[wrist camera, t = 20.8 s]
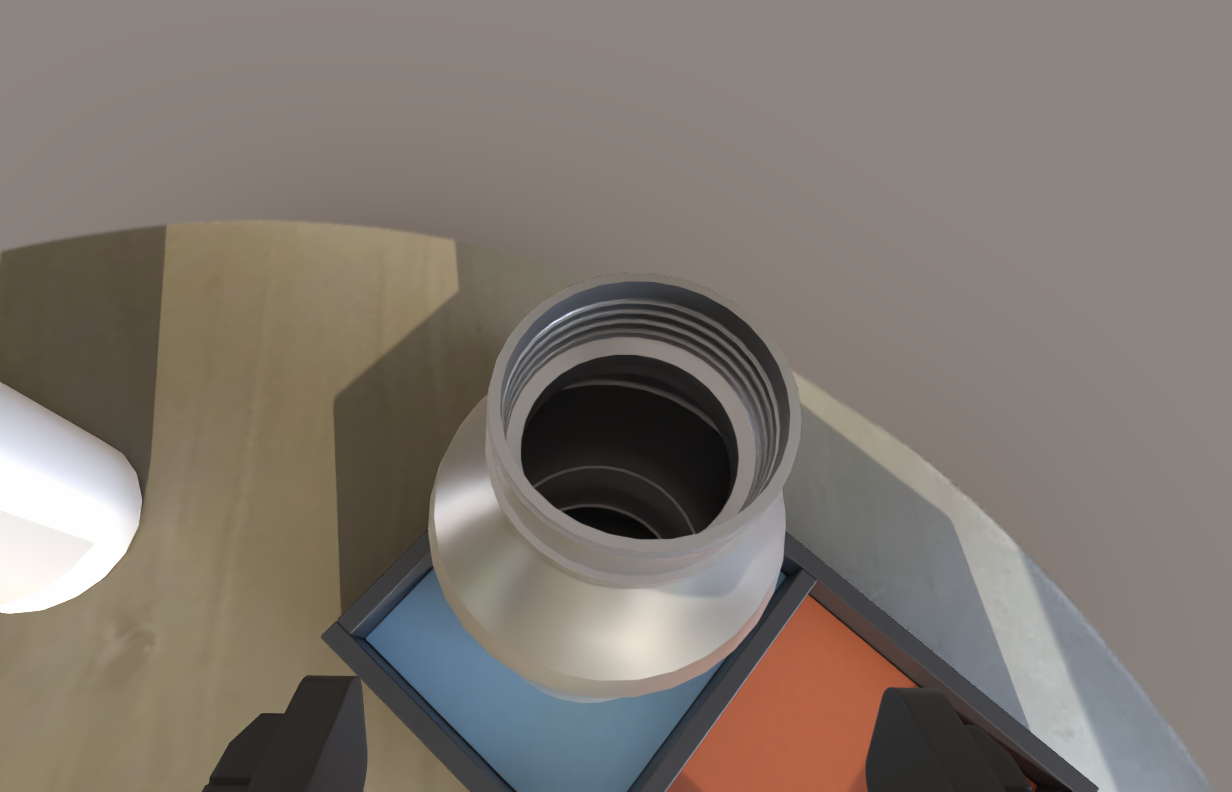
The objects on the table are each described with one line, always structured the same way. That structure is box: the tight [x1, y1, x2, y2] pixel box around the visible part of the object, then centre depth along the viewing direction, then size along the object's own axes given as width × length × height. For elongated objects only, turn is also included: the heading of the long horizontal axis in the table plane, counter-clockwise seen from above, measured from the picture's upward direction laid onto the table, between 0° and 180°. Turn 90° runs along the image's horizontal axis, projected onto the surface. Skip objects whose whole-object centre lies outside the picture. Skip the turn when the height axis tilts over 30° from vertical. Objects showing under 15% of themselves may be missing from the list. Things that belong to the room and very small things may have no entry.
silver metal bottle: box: [428, 273, 802, 703], centre depth 17 cm, size 6×7×20 cm
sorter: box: [321, 530, 1099, 792], centre depth 25 cm, size 23×14×3 cm, turn 49°
